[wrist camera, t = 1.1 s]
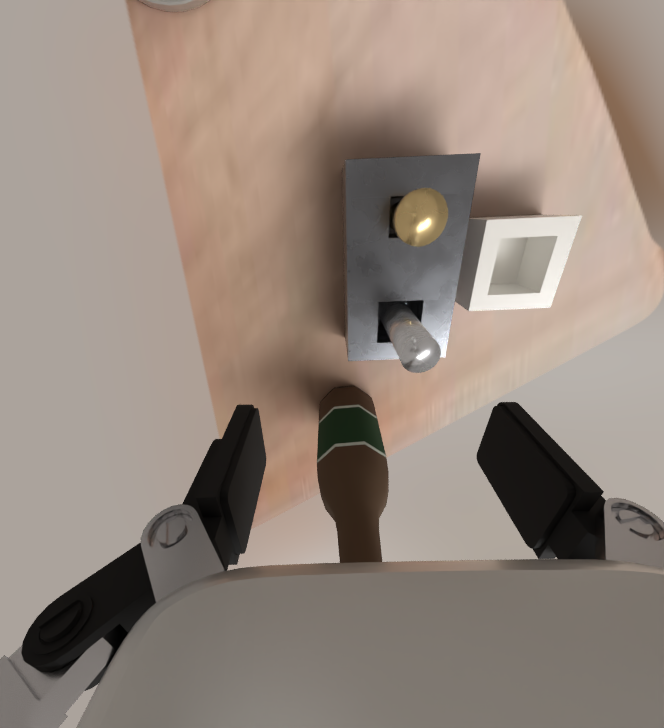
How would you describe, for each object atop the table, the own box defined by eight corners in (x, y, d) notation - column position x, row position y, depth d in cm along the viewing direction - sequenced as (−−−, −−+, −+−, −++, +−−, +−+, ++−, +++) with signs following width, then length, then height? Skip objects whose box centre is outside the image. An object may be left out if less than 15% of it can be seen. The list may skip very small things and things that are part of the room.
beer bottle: (359, 374, 37) (401, 593, 16) (382, 415, 40) (443, 640, 19) (308, 397, 39) (285, 623, 18) (335, 435, 42) (341, 662, 21)
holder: (462, 218, 28) (487, 219, 24) (542, 214, 28) (581, 215, 24) (449, 297, 32) (468, 311, 28) (519, 294, 32) (550, 307, 28)
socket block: (341, 169, 26) (345, 159, 21) (449, 164, 26) (480, 153, 21) (345, 337, 34) (348, 361, 29) (427, 334, 34) (445, 357, 29)
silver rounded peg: (376, 293, 31) (401, 337, 20) (404, 292, 31) (443, 335, 20) (375, 319, 32) (399, 373, 22) (401, 318, 32) (437, 371, 22)
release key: (381, 193, 24) (397, 189, 19) (423, 192, 24) (452, 186, 19) (379, 239, 26) (393, 247, 20) (419, 237, 26) (443, 245, 20)
